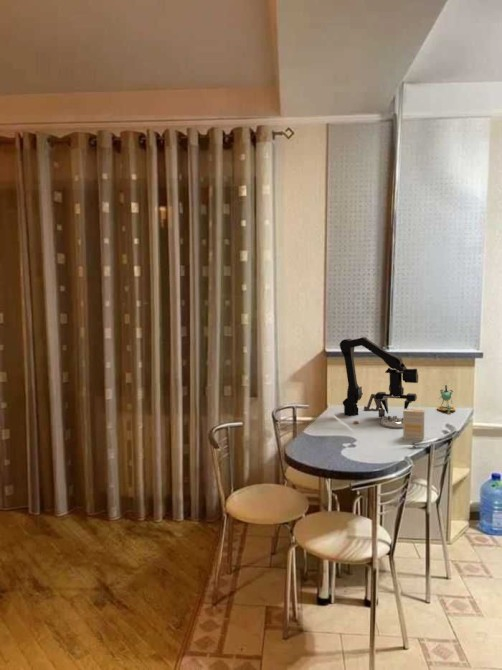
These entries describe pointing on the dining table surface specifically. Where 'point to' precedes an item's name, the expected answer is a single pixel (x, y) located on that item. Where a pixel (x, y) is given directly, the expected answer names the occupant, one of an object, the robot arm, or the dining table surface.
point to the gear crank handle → (390, 420)
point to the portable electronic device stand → (377, 402)
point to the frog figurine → (446, 397)
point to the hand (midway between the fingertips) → (396, 413)
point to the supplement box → (413, 424)
